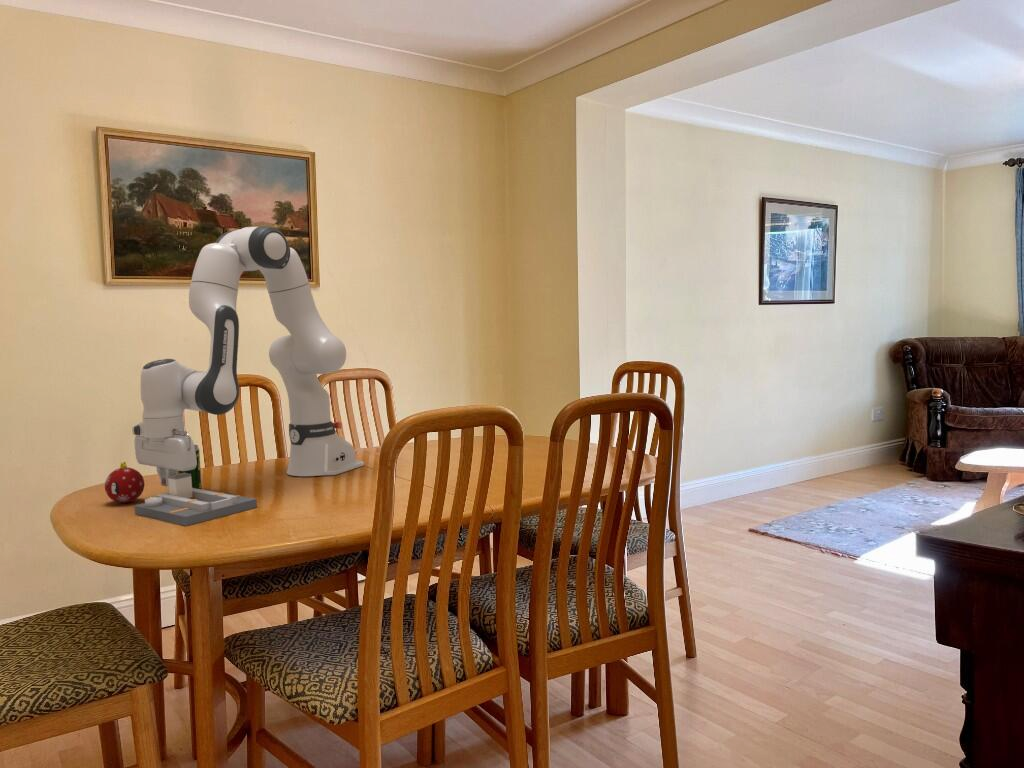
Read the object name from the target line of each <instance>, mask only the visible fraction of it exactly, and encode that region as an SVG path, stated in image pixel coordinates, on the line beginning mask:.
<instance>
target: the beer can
mask: <svg viewBox="0 0 1024 768" xmlns="http://www.w3.org/2000/svg"><path fill="white" fill-rule="evenodd" d="M194 446H195V452H196V459H197V466H196V468H195V469H193V470H188V471H178V470H177V474H179V473H189V474H191V480H192V488H196V489H201V490H203V487H202V474H201V457H200V455H201V453H200V448H199V445H198V444H194Z"/></svg>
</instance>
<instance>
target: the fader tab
mask: <svg viewBox="0 0 1024 768" xmlns="http://www.w3.org/2000/svg"><path fill="white" fill-rule="evenodd" d="M168 484H169V487H168V492H169V495H173V496H178V497H183V498H191V497H193V495H192V480H191V474H189V473H179V474H178V473H176V474H174V475H169V476H168Z"/></svg>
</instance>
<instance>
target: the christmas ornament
mask: <svg viewBox="0 0 1024 768" xmlns="http://www.w3.org/2000/svg"><path fill="white" fill-rule="evenodd" d="M144 489H145V478H144V476H143V475H142V474H141V473H140V471H138V470H137V469H135V468H132V467H128V466H127V463H126V461H122V462H121V463H120V465H119V468H117V469H114V470H113V471H112V472H110V473H109V474H108V476H107V477H106V479H105V483H104V490H105V491H104V492H105V494H106V495H107V497H108V498H109V499H110V500H111V501H113V502H116V503H119V504H128V503H131V502H134V501H135V500H137V499H138V498H139V497H140V496H141V495H142V493H143V492H144Z"/></svg>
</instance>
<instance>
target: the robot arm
mask: <svg viewBox="0 0 1024 768" xmlns="http://www.w3.org/2000/svg"><path fill="white" fill-rule="evenodd" d="M258 270H259V271H260V273H261V274H262V275H263V277H264V281H265V285H266V289H267V292H268V295H269V296H268V297H269V299H270V303H271V305H272V307H271V308H272V310H273V314H274V316H275V319H276V321H277V322H278V323H279V324H281V325H282V326H284V327H285V329H286V330H287V331H288V333H289V334H287V335H284V336H280V337H278V338H276V339H275V340H273V341H272V342H271V344H270V345H269V346H270V347H269V349H268V358H269V362H270V363H271V365H272V366H273V367H274V368H275V369H276V370H277V372H278V373H279V375H280V377H281V378H282V381H283V385H284V387H285V390H286V392H287V398H288V408H289V424H288V436H289V440H290V448H289V449H290V450H289V461H288V466H287V470H286V474H287V475H288V476H292V477H316V476H318V477H319V476H336V475H340V474H342V473H346V472H348V471H351V470H354V469H357V468H360V467H363V466H365V461H363V460H359V459H356V451H355V448H354V447H355V446H353V444H351V443H350V442H348V441H347V440H346V439H344V438H343V437H342V436H340V435H339V434H338V433H337V431H336V429H338V430H340V429H342V428H343V423H342V421H334V422H333V421H332V420H331V405H330V404H331V403H330V401H331V400H330V394H329V392H328V390H327V389H325V388H324V387H323V386H322V384H321V383H320V381H319V380H320V379H319V378H318V377H319V376H318V375H325V374H326V375H327V374H331V373H334V372H337V371H339V370H340V369H342V368H343V367H344V365H345V362H346V360H347V348H346V347H345V344H344V343H343V341H342V340H341V339H340V338H338V337H337V336H335V334H334V333H332V331H331V330H330V329H329V328H328V327H327V325H326V323H325V322H324V321H323V318H322V317H321V315H320V313H319V311H318V309H317V306H316V303H315V300H314V297H313V293H312V290H311V286H310V282H309V278H308V275H307V273H306V270H305V267H304V265H303V262H302V260H301V257H300V256H299V254H298V252H297V251H296V249H294V248H293V247H290V244H289V242H288V240H287V238H286V236H285V235H284V234H283V233H282V231H281V230H279V229H278V228H276V227H273V226H269V225H260V226H246V227H242V228H240V229H236V230H229V231H227V232H225V233H222V234H221V235H220V236H219V237H218V238H217V239H216V241H215V242H213V243H208V244H205V245H204V246H203V247H201V249H200V251H199V255H198V257H197V259H196V262H195V265H194V268H193V271H192V275H191V281H190V285H189V291H188V292H189V293H188V307H189V309H190V311H191V313H192V314H193V315H194V317H196V319H197V320H199V321H201V322H202V323H203V324H204V325H205V326H206V327H207V328H208V331H209V333H210V345H209V347H210V348H209V349H210V350H209V360H208V361H209V362H208V363H209V364H208V367H207V370H206V371H203V370H201V371H200V370H197V369H194V368H193V369H192V368H191V367H187V366H185V365H183V364H182V363H179V362H178V361H177V359H174V358H164V359H163V358H162V359H158V360H153V361H150V362H147V363H146V364H145V365H144V366H143V367H142V369H141V372H140V400H141V402H142V405H143V411H142V417H141V418H142V421H140V422H139V423H138V424H135V425H133V426H132V428H131V430H132V431H131V432H132V435H133V436H135V437H134V440H133V441H134V452H135V453H134V455H135V459H136V462H137V463H138V465H144V466H150V467H156V472H157V474H158V477H159V479H160V485H161V486H163V487H164V486H165V487H168V488H169V484H168V476H169V475H174V474H178V471H188V470H193V469H195V468H196V466H197V459H196V452H195V446H194V445H195V443H194V440H193V439H192V436H191V435H190V434H189V433H188V431H186V430H185V421H184V420H185V419H184V411H185V410H191V411H195V412H204V413H207V414H212V415H215V416H219V415H225V414H227V413H229V412H230V411H232V409H234V408H235V406H236V405H237V403H238V400H239V397H240V384H239V380H238V373H237V369H238V355H239V354H238V351H239V338H240V336H239V334H240V333H239V332H240V322H239V317H238V316H239V315H238V313H237V300H238V294H239V293H238V292H239V286H240V285H239V284H240V278H241V275H243V273H244V272H254V271H258Z"/></svg>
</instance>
